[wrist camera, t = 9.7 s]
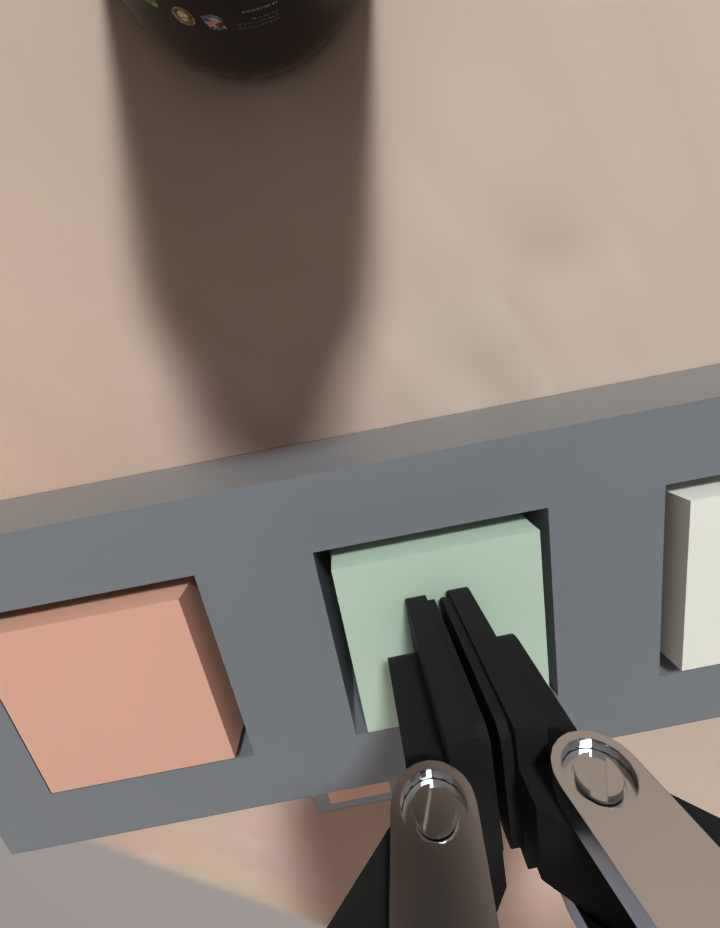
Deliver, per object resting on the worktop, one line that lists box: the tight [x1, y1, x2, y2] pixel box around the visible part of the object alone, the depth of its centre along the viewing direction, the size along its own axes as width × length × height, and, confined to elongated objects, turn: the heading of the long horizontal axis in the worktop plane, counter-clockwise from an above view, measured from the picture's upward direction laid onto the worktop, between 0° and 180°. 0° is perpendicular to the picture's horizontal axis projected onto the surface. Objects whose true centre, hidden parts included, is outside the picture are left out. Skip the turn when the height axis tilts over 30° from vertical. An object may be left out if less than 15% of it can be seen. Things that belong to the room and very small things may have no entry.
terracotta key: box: [0, 576, 244, 793], centre depth 12 cm, size 5×5×3 cm
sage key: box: [331, 513, 549, 732], centre depth 12 cm, size 5×5×3 cm
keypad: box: [0, 364, 720, 854], centre depth 12 cm, size 28×10×4 cm, turn 100°
